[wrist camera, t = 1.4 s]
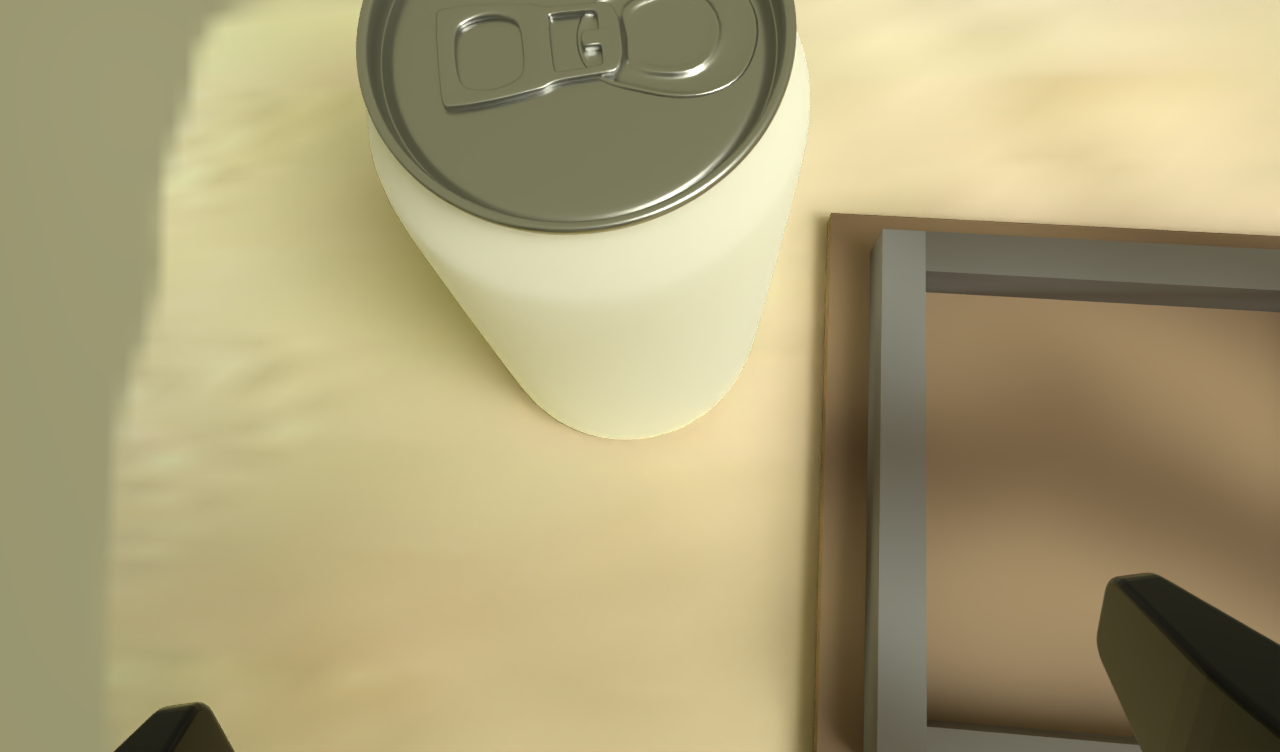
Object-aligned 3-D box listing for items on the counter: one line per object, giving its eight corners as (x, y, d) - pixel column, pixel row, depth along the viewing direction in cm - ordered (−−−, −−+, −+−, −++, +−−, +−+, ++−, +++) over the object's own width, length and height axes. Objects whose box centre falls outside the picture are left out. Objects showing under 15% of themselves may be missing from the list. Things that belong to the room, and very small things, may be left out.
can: (773, 426, 22) (876, 227, 10) (515, 460, 22) (329, 299, 10) (734, 190, 24) (786, -213, 12) (494, 222, 24) (314, -147, 12)
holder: (1473, 863, 19) (1564, 893, 17) (811, 801, 20) (826, 823, 18) (1387, 251, 22) (1454, 218, 20) (827, 222, 23) (840, 188, 21)
